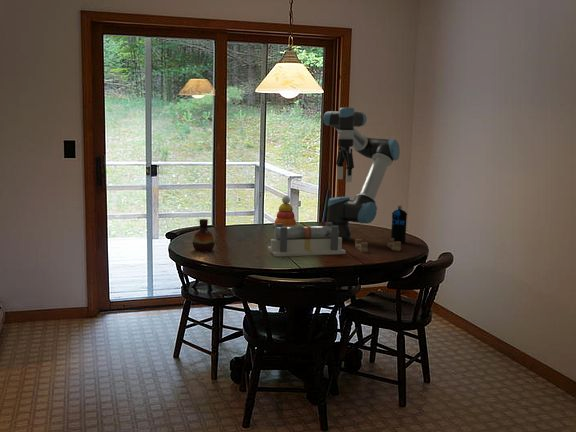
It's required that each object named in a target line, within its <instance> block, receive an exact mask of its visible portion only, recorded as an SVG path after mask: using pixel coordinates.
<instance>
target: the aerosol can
mask: <svg viewBox="0 0 576 432" xmlns="http://www.w3.org/2000/svg"><path fill="white" fill-rule="evenodd" d="M402 207H403V206H402V205H397V209H396V210H394V211H393V212H391V215H392V216H391V234H390V238H394V242H396V241H400V242H401V243H403V244H406V243H407V241H406V235H407V234H406V233H407V218H408V213H407V212H406V211H405V210H403V208H402Z"/></svg>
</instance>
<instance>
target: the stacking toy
mask: <svg viewBox="0 0 576 432" xmlns="http://www.w3.org/2000/svg"><path fill="white" fill-rule="evenodd" d="M290 201H291V198H290V196H289V195H283V197H282V199H281V202H282V204H280V205H279V207H278V211H277V213H276V218H275V220H274V223H273V226H274V228H275V227H276V224H278V223H282V224H283V227H298V223H297V221H296V218H295V213H294V211H293V210H294V209H293V206H292V205H291V204H290Z"/></svg>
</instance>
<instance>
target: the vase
mask: <svg viewBox="0 0 576 432" xmlns="http://www.w3.org/2000/svg"><path fill="white" fill-rule="evenodd" d="M198 221H199V230H197V231H195V233H194V235H193V237H192V239H191V240H192V241H191V242H192V243H191V244H192V246H193V247H192V248H193V249H194V251H196V252H198V251H200V252H199V253H207V252H206V251H209V252H212V251H213V249H214V248H215V244H216V238H215V236H214V234H213V232H211V231H210V230H209V229H208V224H209V220H208V219H206V218H201V219H199V220H198ZM211 250H212V251H211Z"/></svg>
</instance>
